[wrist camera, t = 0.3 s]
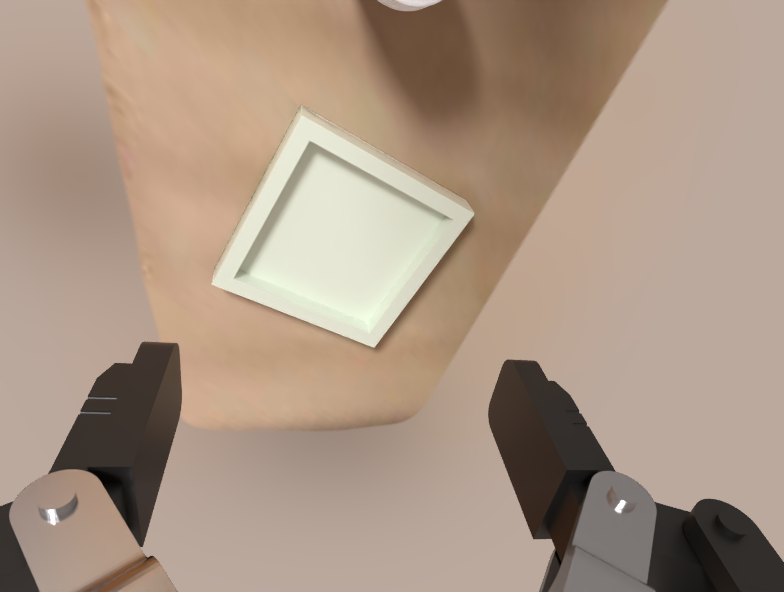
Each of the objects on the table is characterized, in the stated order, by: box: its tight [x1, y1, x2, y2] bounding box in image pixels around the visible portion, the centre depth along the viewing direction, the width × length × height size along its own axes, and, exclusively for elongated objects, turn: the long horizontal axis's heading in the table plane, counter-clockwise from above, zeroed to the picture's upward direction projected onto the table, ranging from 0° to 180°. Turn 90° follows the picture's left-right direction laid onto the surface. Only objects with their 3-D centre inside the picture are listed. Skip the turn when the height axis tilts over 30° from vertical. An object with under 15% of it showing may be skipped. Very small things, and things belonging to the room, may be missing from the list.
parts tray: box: [211, 105, 475, 348], centre depth 34 cm, size 12×12×2 cm
